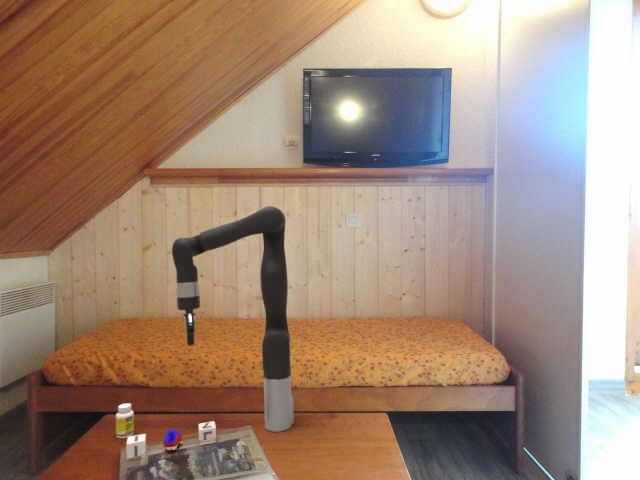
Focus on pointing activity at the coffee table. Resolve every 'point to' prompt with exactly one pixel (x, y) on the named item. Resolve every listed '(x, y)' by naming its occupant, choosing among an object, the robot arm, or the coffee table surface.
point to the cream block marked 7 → (207, 430)
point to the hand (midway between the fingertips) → (190, 344)
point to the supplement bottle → (124, 421)
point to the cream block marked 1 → (136, 445)
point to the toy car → (172, 438)
